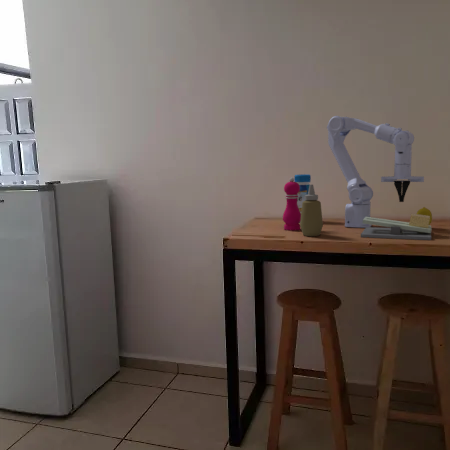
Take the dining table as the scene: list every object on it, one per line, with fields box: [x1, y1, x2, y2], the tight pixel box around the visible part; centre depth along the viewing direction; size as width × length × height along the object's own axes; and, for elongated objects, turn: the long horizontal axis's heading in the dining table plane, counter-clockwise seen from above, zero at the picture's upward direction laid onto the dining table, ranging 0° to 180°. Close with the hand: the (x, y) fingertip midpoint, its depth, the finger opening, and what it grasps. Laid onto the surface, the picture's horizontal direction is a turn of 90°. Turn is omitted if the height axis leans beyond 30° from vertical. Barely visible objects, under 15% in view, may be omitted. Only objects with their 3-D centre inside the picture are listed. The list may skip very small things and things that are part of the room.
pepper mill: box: [282, 177, 301, 231], centre depth 176 cm, size 7×7×20 cm
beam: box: [363, 216, 432, 234], centre depth 159 cm, size 22×9×2 cm, turn 67°
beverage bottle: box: [293, 173, 312, 224], centre depth 196 cm, size 8×8×20 cm
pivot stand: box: [360, 226, 432, 241], centre depth 160 cm, size 22×16×4 cm
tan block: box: [409, 213, 430, 228], centre depth 157 cm, size 6×5×4 cm
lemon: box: [416, 206, 433, 226], centre depth 170 cm, size 6×6×8 cm
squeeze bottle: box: [299, 184, 324, 237], centre depth 162 cm, size 8×8×18 cm
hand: (401, 201), depth 169 cm, fingers closed
